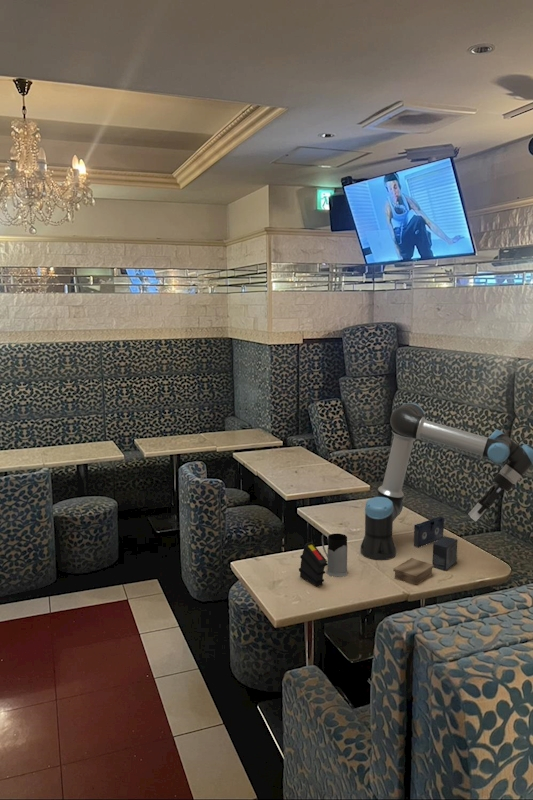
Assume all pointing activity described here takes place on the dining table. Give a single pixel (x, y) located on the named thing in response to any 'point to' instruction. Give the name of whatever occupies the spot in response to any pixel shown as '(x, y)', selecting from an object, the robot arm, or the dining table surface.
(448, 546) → the small box
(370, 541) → the robot arm
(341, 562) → the glass holder
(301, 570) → the magazine
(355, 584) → the dining table surface
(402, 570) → the walnut stand
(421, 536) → the vhs cassette tape
